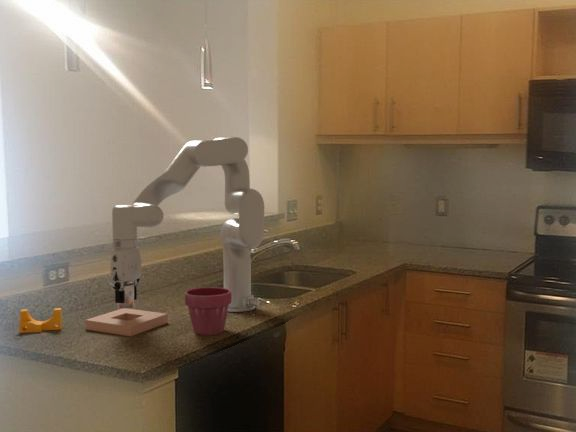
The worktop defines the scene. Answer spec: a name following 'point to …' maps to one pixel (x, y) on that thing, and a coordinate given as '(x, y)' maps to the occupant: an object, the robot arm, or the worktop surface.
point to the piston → (127, 294)
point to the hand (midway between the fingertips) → (126, 300)
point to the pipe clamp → (39, 322)
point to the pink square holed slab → (126, 321)
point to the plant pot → (208, 309)
